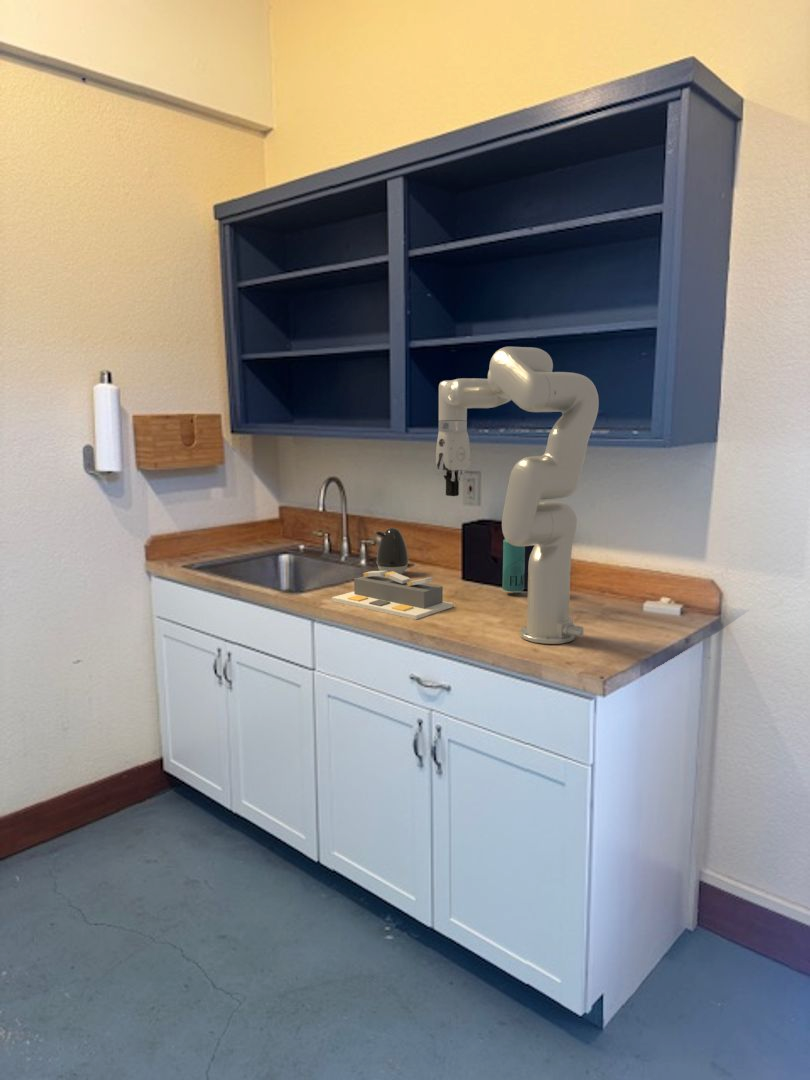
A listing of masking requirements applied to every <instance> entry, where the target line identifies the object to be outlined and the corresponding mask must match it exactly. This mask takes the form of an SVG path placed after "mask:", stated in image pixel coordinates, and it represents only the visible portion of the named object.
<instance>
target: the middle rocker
mask: <svg viewBox="0 0 810 1080" xmlns="http://www.w3.org/2000/svg"><path fill="white" fill-rule="evenodd" d="M384 576H385V577H386V578H389V579H392V580H394V581H396V582H399V583H401V584H403V583H407V582H410V581H411V578H410V577H408V576H406V575H403V574H398V573H396V572H394V571H392V572H388V573H385V575H384Z"/></svg>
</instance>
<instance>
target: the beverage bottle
mask: <svg viewBox="0 0 810 1080" xmlns="http://www.w3.org/2000/svg"><path fill="white" fill-rule="evenodd" d="M502 543H503V544H502V551H503V552H502V579H501V580H502V586H501V587H502V590H503V591H505V592H513V593H516V592H517V593H518V592H523V591H524V589H525V584H526V583H525V582H526V581H525V580H526V576H525V573H526V568H525V567H526V566H525V565H526V563H525V562H526V546H522V547H518V546H513V545H511V544H509V543H508V542H507V541H506V539H505V538H504V539H503V541H502Z"/></svg>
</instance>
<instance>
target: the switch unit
mask: <svg viewBox="0 0 810 1080" xmlns="http://www.w3.org/2000/svg"><path fill="white" fill-rule="evenodd" d="M411 581H412V580H410V582H411ZM353 583H354V589H353V590H354V591H351V592H350V591H349V592H347V593H343V594H339V595H335V596H332V597H331V602H336V603H339V604H344V605H348V606H349V605H350V606H354V607H358V608H363V609H366V610H372V611H375V612H380V613H385V614H390V615H392V616H393V615H394V616H398V617H403V618H407V619H412V620H418V619H421V618H424V617H427V616H429V615H430V616H431V615H433V614H436V613H439V612H442V611H445V610H448V609H451V608H453V607H454V602H448V601H445V600H443V597H444V596H443V595H444V594H443V591H444V590H443V586H441V585H437V584H431V583H422V584H417V585H412V586H408V585H407V583H403V584H401V583H399V582H396V581H394V580H392V579H389V578H386V577H385V575H383V576H368V577H364V575H363V576H360V577H356V578H355V577H354V581H353Z"/></svg>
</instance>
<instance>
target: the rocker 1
mask: <svg viewBox="0 0 810 1080" xmlns="http://www.w3.org/2000/svg"><path fill="white" fill-rule="evenodd" d="M385 573H388V571H380V570H371V571H367V572H363V576H364V577H368V576H385Z"/></svg>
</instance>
